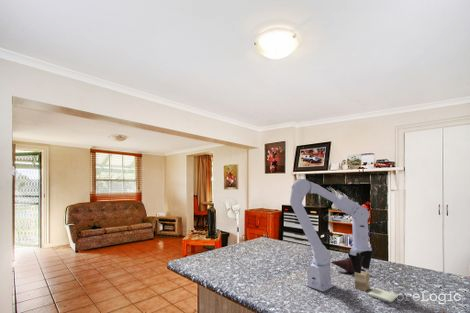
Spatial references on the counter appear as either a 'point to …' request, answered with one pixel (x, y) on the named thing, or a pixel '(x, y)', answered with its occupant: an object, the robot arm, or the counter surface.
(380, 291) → the coaster
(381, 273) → the counter surface
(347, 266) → the icecream
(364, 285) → the block
